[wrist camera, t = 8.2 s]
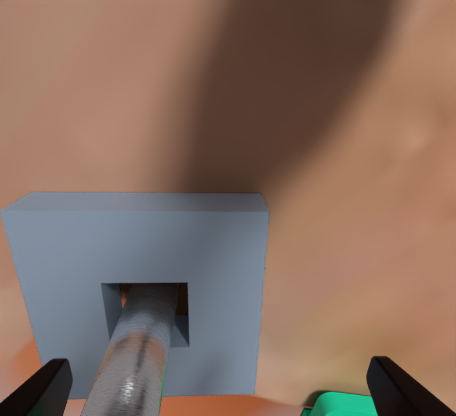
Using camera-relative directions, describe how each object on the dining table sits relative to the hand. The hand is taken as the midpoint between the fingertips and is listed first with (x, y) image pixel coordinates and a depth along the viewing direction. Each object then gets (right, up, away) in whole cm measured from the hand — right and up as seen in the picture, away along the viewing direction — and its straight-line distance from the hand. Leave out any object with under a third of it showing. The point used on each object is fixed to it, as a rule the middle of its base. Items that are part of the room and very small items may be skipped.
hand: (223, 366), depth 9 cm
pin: (-5, -1, +12) cm, 13 cm away
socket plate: (-5, -1, +12) cm, 13 cm away
